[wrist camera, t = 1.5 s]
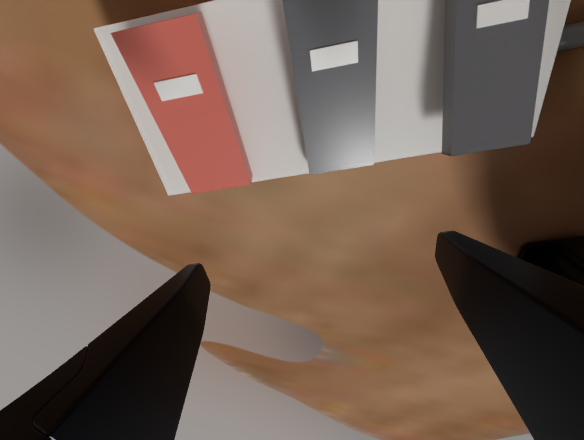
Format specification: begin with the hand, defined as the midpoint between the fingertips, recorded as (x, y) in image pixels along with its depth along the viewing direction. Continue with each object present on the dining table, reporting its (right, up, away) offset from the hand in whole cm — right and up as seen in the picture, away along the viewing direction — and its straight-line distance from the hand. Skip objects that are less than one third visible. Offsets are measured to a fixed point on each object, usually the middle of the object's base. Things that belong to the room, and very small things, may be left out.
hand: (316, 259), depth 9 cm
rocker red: (-6, +7, +5) cm, 10 cm away
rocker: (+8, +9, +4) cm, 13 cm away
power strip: (+4, +10, +8) cm, 13 cm away
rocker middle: (+1, +8, +5) cm, 9 cm away
